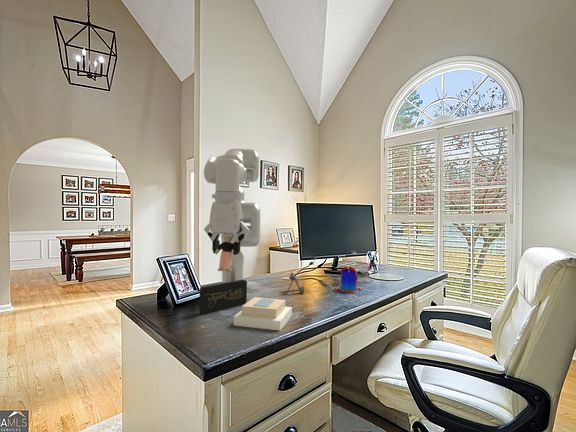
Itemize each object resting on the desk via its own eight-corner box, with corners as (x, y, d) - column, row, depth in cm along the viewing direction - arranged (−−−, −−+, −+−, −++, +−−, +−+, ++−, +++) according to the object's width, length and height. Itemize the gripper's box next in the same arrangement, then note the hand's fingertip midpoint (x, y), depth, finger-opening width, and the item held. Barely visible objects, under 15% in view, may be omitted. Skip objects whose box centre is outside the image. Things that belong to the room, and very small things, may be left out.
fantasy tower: (332, 290, 157) (332, 266, 157) (344, 286, 166) (344, 263, 166) (353, 294, 150) (353, 269, 149) (364, 290, 158) (365, 266, 158)
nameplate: (202, 315, 114) (202, 287, 114) (199, 314, 115) (199, 286, 115) (246, 304, 129) (247, 279, 129) (243, 303, 131) (244, 279, 131)
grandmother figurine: (216, 272, 98) (218, 232, 97) (212, 269, 102) (215, 230, 101) (239, 271, 102) (242, 232, 101) (235, 268, 105) (238, 230, 104)
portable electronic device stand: (303, 294, 148) (304, 276, 148) (287, 293, 148) (287, 276, 148) (303, 289, 156) (303, 273, 156) (287, 289, 157) (287, 272, 156)
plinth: (233, 325, 104) (233, 306, 104) (250, 311, 119) (251, 294, 119) (280, 330, 100) (280, 311, 100) (291, 315, 116) (292, 298, 116)
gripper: (197, 197, 100) (196, 253, 100) (247, 197, 95) (246, 256, 95) (209, 198, 107) (207, 250, 107) (256, 198, 102) (255, 253, 103)
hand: (226, 253), depth 101 cm, fingers closed on grandmother figurine, 6 cm apart
